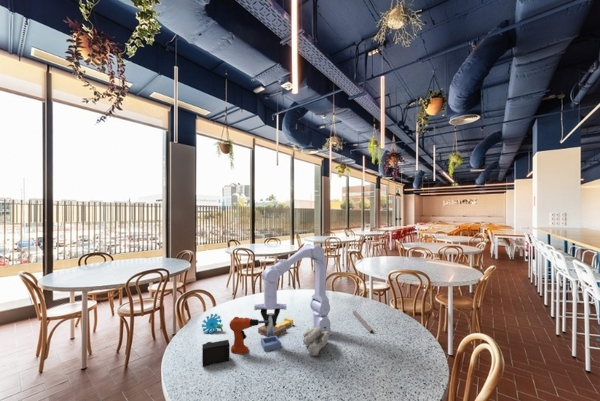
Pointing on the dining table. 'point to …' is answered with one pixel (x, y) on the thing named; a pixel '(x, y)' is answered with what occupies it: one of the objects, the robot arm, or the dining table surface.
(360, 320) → the metal rod
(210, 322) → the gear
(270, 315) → the gray metallic cylinder
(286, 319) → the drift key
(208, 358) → the digital camera
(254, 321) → the toy drill
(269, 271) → the robot arm
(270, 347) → the tray
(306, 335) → the mineral
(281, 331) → the socket
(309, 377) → the dining table surface
